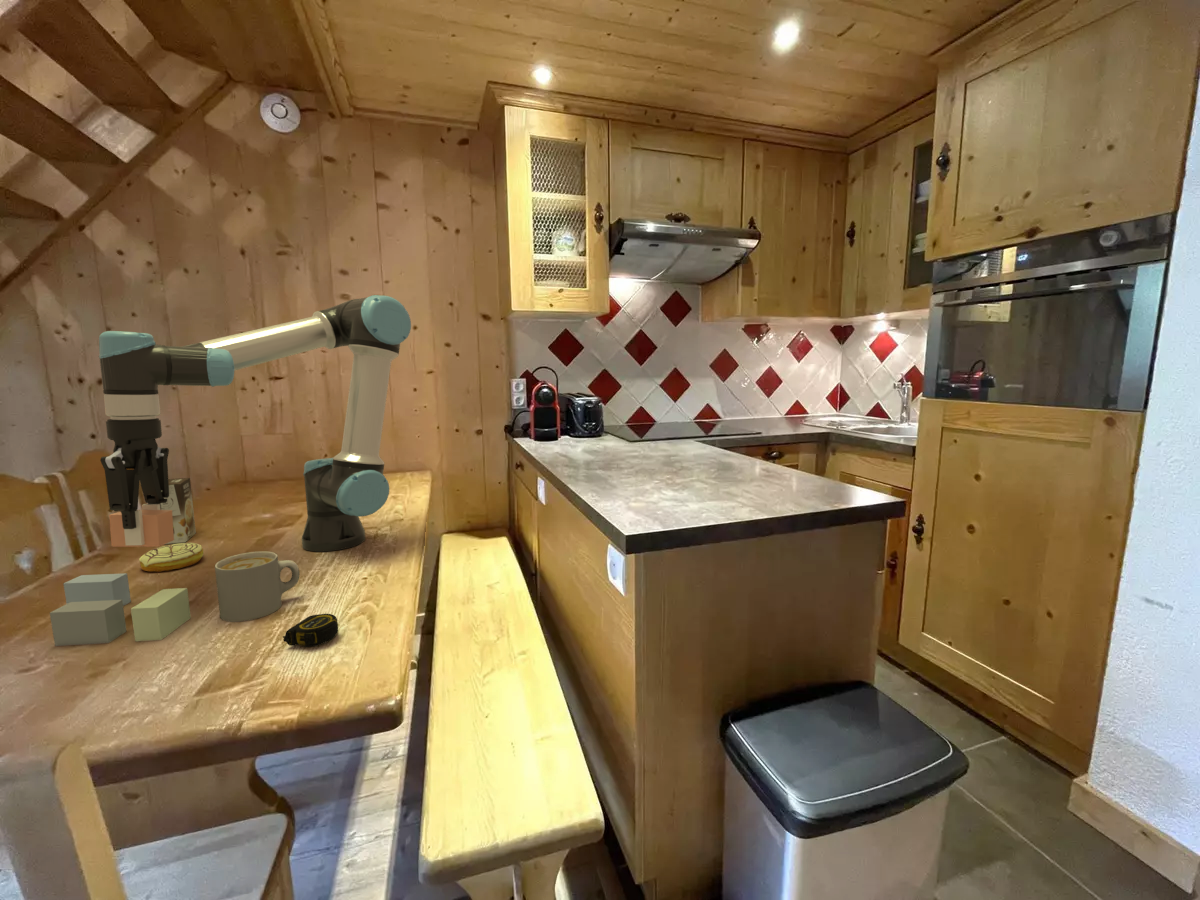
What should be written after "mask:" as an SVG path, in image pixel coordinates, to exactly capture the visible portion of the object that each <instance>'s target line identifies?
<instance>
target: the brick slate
mask: <svg viewBox="0 0 1200 900" xmlns="http://www.w3.org/2000/svg"><path fill="white" fill-rule="evenodd" d="M49 617H50V618H49V619H50V623H51V630H52V635H53V642H54V643H53V644H54V647H59V646H60V647H63V646H82V645H94V644H95V645H97V644H109V643H111V642H113V641H114V640H116V639H117V638H119V637H120V636H121V635H123V634H124V633H126V632H127V623H126V619H125V618H126V616H125V608H124V606H123V601H122V600H105V601H84V602H70V603H68V604H67V603H65V604H64V605H62V606H60V607H58V608H56V609H54V610H52V611H50V612H49Z"/></svg>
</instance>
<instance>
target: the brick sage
mask: <svg viewBox="0 0 1200 900" xmlns="http://www.w3.org/2000/svg"><path fill="white" fill-rule="evenodd" d="M188 592H189V591H188V588H187V587H183V588H182V587H180V588H179V587H178V588H163V589H161V590H160V591H158V592H155V593H154V594H152V595H151V596H149V597H147V599H144V600H142V601H141V602H140V603H138V604H136V605H135V606H133V607H131V608H130V614H131V620H132V626H133V635H134V642H146V641H159V640H160V641H162V640H163V639H165V638H166V637H167V636H169V635H170V634H171V633H173V632H174V631H175V630H176V629H178V628H180V626H182V625H184V624H185V623H186V622H188V621H189V620H191V618H192V617H191V609H190V600H189V593H188Z"/></svg>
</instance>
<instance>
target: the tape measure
mask: <svg viewBox="0 0 1200 900" xmlns="http://www.w3.org/2000/svg"><path fill="white" fill-rule="evenodd" d="M338 632H339V622H338V618H337V616H336V615H334V614H331V613H320V614H319V613H318V614H312V615H309V616H306V617H305V618H304V619H302V620H301V621H300V622H298V623H297V624H295V625H294V626H292V627H291V628H288V629H287V630H286V631H285V634H284V635H282V638H283V642H285V643H286V644H287V645H288V646H289V647H291V646H292V647H293V646H300V647H304V648H309V647H310V648H311V647H316V646H320V645H324V644H325V643H327V642H330V641H332V640H333V639H334V638H335V637H336V636H337V635H338Z"/></svg>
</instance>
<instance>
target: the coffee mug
mask: <svg viewBox="0 0 1200 900" xmlns="http://www.w3.org/2000/svg"><path fill="white" fill-rule="evenodd" d="M278 556H279V555H278V554H277V553H275V552H273V551H261V550H260V551H251V552H243V553H239V554H235V555H231V556H228V557H225V558H223V559H221V560H219V561H217V562H216V563H215V565H214V570H215V580H216V591H217V592H216V593H217V597H218V598H217V600H218V608H219V618H220V619H221V620H222V621H225V622H231V623H238V622H247V621H253V620H256V619H261V618H263V617H266V616H268V615H270V614H273V613H275V612H277V611H278V610H279V609H280V608H281V607H282V605H283V604H282V596H283V594H285V592H287V591H289V590H290V589H292V588H293V587H295V586H296V585H297V584H298V582H299V580H300V569H299V568H300V567H299V565H298V564H297V563H296V562H295V561H294V560H291V559H290V560H289V559H287V560H286V559H285V560H279V558H278ZM284 568H289V570H290V571H291V578H290V579H289V580H288V581H282V579H281V572H282V570H283V569H284Z"/></svg>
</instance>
